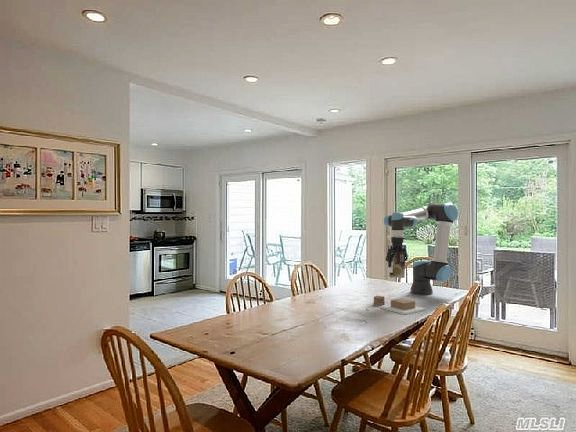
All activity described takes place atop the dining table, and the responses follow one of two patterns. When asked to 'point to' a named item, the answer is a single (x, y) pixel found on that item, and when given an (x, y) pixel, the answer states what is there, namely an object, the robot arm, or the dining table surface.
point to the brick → (379, 300)
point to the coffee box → (398, 265)
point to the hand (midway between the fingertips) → (396, 271)
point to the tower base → (417, 309)
